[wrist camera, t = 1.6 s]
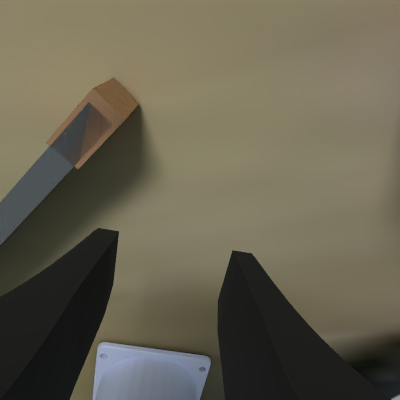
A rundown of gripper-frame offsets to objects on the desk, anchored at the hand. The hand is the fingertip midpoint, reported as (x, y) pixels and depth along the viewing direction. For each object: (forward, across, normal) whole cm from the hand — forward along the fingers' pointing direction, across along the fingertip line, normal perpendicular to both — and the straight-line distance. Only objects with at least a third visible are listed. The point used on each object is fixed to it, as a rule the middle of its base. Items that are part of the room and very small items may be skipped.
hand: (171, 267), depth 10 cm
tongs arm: (+8, +8, +3) cm, 11 cm away
